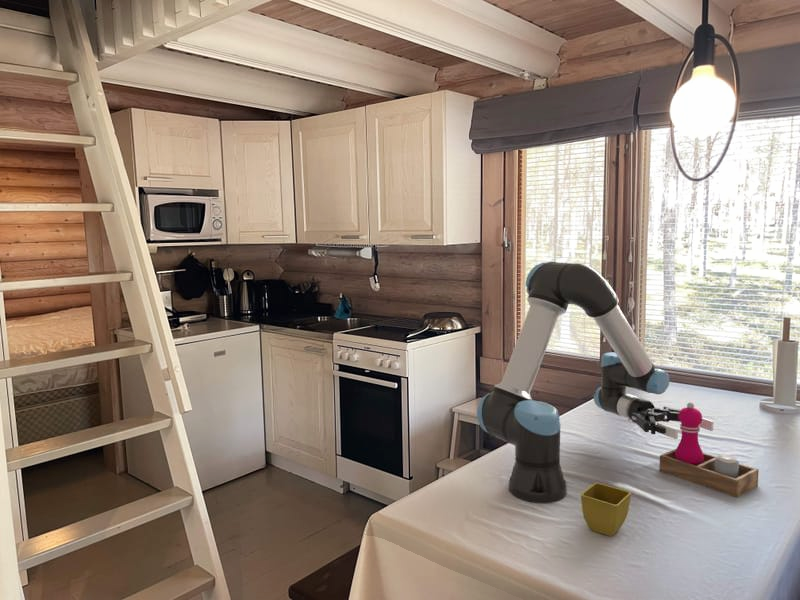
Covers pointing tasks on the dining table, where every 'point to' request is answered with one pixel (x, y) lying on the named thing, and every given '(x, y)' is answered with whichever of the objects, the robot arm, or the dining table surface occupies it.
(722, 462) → the salt jar
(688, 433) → the pepper mill
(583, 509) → the flower pot
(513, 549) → the dining table surface
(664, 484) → the dining table surface
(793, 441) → the dining table surface
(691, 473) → the caddy
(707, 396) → the dining table surface
